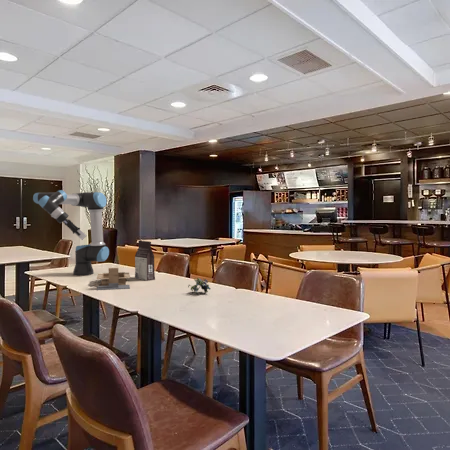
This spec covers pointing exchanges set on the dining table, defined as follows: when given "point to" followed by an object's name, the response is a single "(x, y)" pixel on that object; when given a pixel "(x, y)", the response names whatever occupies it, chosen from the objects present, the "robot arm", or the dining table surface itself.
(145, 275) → the coffee bag
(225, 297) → the dining table surface
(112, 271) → the box
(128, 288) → the mat
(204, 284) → the passion flower
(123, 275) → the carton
